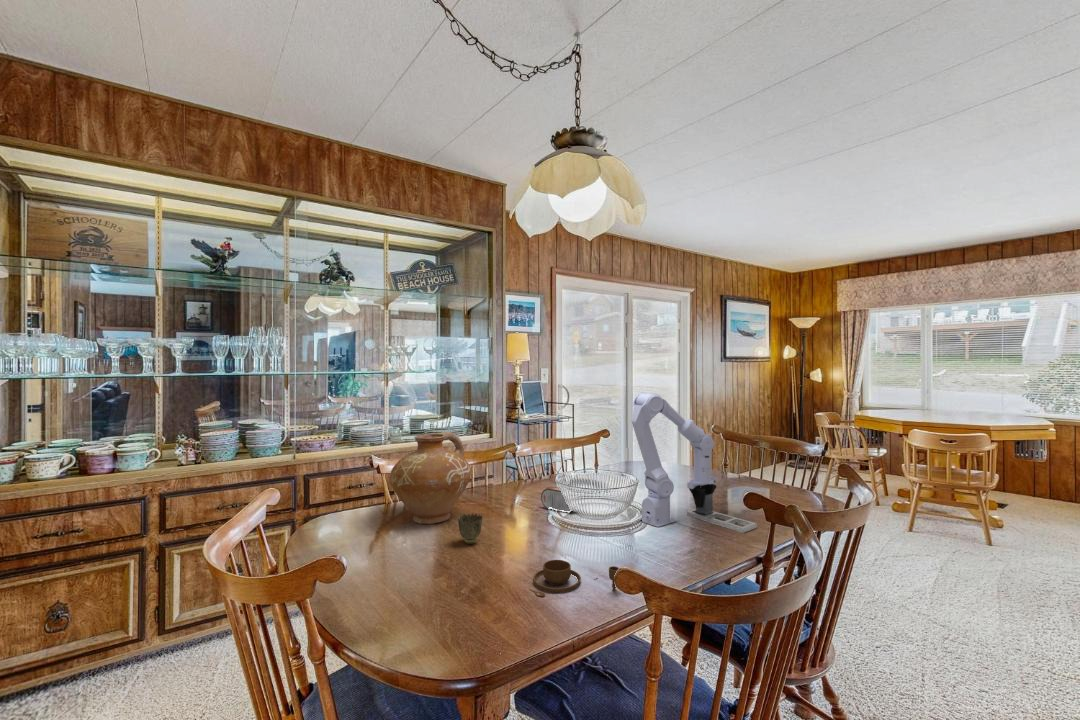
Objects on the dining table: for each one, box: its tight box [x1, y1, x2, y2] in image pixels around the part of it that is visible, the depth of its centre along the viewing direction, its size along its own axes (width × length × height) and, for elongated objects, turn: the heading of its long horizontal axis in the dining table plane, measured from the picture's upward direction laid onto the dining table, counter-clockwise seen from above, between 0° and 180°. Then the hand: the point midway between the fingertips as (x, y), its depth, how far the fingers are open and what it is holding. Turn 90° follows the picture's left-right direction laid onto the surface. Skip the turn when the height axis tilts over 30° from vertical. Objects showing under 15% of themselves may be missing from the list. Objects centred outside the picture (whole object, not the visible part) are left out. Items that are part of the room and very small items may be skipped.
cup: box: [457, 512, 483, 545], centre depth 150 cm, size 8×7×8 cm
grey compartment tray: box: [686, 508, 758, 534], centre depth 167 cm, size 8×22×2 cm, turn 36°
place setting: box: [529, 559, 620, 598], centre depth 120 cm, size 18×20×6 cm
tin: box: [540, 485, 570, 511], centre depth 180 cm, size 15×3×8 cm, turn 58°
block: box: [695, 492, 714, 516], centre depth 172 cm, size 4×4×8 cm
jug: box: [389, 431, 472, 525], centre depth 173 cm, size 28×28×30 cm
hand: (702, 505), depth 172 cm, fingers closed on block, 4 cm apart
